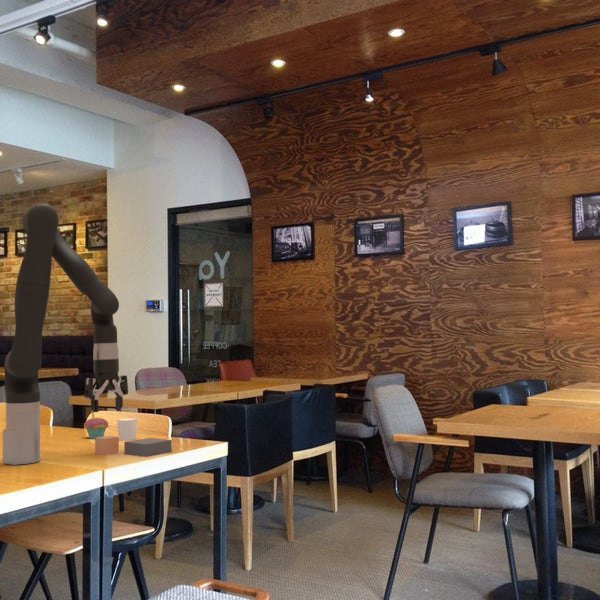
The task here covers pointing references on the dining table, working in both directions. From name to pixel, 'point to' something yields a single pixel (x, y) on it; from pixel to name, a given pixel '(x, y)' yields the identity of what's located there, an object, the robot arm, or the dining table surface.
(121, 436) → the light grey piece
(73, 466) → the dining table surface
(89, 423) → the cupcake
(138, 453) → the charcoal block
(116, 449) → the terracotta cube
